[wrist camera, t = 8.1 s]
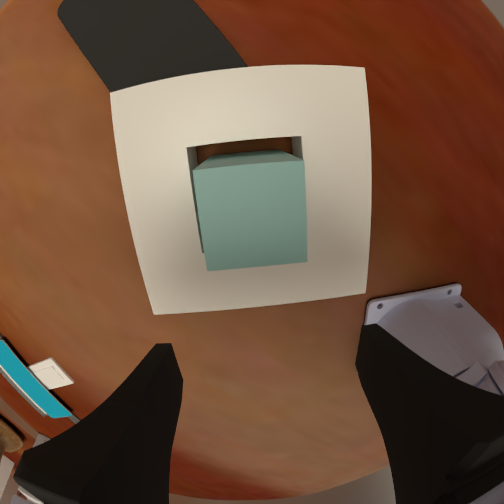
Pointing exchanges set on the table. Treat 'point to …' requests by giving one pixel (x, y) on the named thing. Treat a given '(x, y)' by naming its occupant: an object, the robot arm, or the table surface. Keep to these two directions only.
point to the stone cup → (8, 439)
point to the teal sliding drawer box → (36, 382)
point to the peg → (252, 209)
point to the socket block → (235, 129)
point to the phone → (146, 39)
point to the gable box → (4, 472)
